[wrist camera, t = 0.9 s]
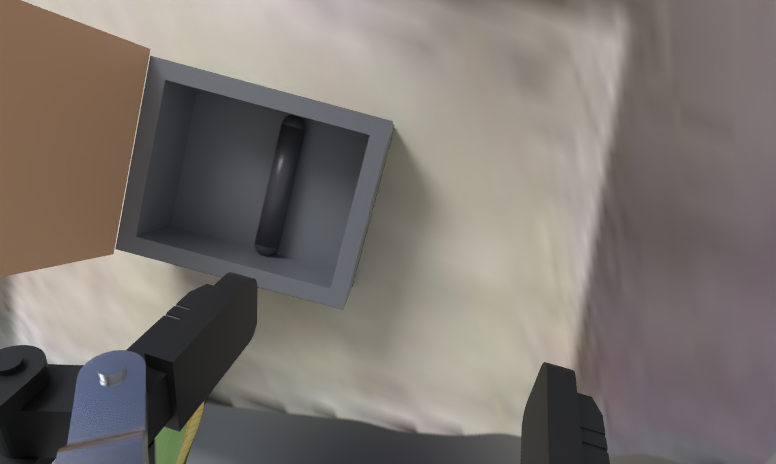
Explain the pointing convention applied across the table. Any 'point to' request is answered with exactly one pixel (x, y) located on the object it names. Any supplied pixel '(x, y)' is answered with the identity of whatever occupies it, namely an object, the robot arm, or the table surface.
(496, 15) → the table surface
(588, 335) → the table surface
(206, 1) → the table surface
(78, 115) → the panel
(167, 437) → the edible corn
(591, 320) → the table surface
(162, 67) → the duct box
